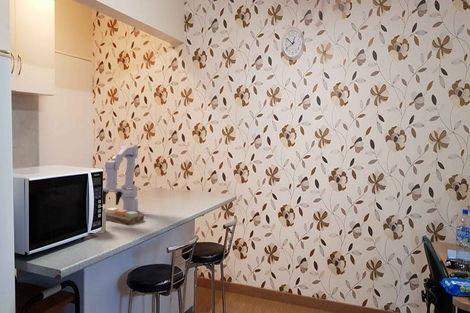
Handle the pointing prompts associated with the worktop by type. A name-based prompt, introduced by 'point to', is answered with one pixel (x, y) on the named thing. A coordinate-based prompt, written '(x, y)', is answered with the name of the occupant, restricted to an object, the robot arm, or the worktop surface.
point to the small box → (103, 221)
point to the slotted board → (124, 219)
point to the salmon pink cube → (121, 212)
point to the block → (131, 214)
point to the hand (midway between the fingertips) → (110, 204)
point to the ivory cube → (111, 210)
